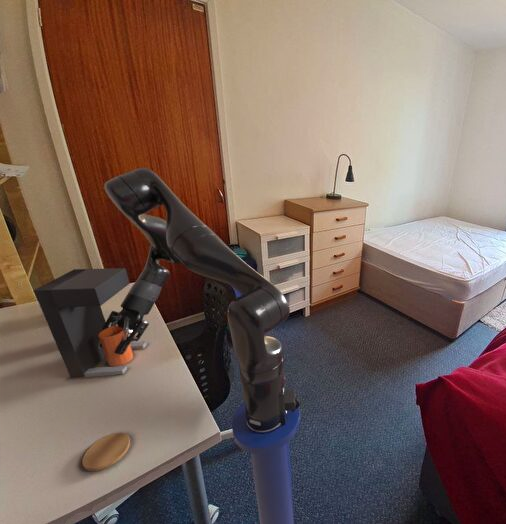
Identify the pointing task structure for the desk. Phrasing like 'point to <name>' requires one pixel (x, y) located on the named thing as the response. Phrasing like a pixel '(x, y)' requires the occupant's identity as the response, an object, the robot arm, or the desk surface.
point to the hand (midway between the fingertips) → (110, 350)
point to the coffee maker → (82, 317)
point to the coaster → (106, 452)
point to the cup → (114, 346)
